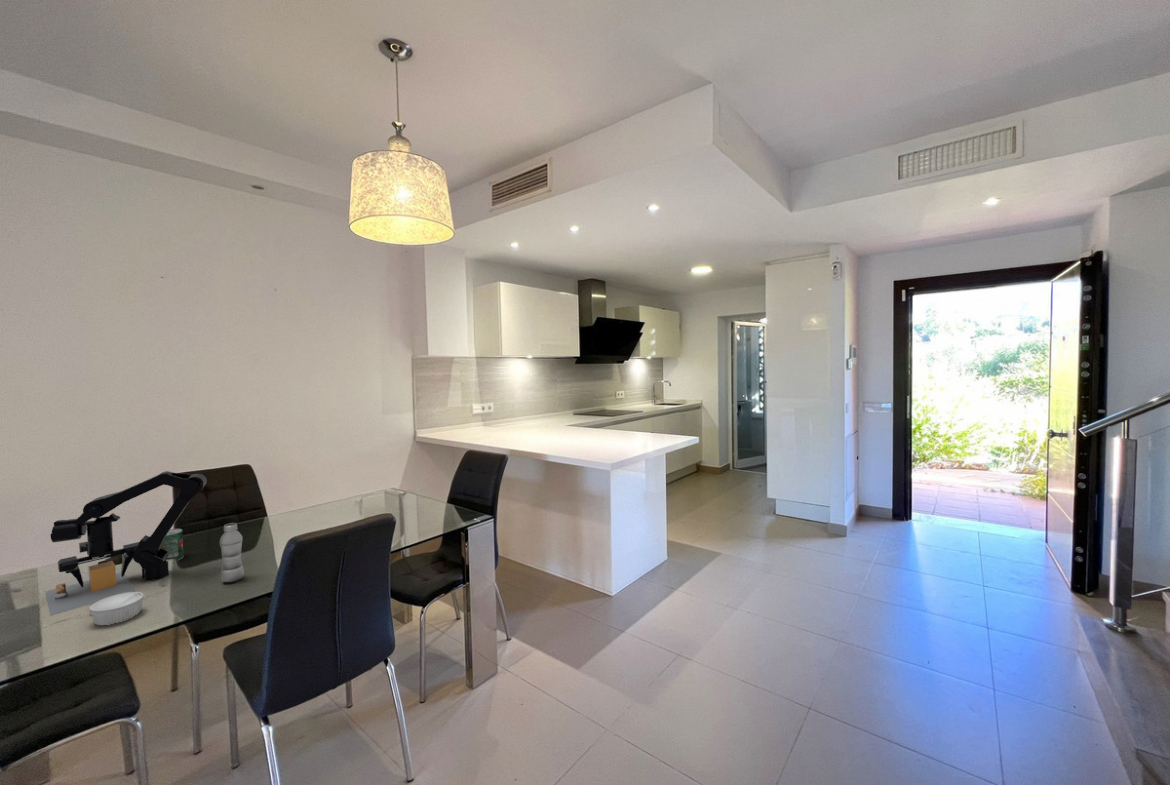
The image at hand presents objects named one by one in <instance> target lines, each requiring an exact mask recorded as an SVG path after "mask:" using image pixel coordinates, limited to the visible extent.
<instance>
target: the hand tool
mask: <svg viewBox="0 0 1170 785" xmlns="http://www.w3.org/2000/svg"><path fill="white" fill-rule="evenodd" d="M139 542H140V541H137V542H136V543H139ZM110 561H113V562H114V564H115V566H117V564H121V563H122V555H117V556H113V557H109V558H105V559H104V560H101V561H98V563H97V564H101V563H106V562H110Z"/></svg>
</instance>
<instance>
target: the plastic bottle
mask: <svg viewBox="0 0 1170 785" xmlns="http://www.w3.org/2000/svg"><path fill="white" fill-rule="evenodd" d="M223 532H224V533H223V534H222V535H221V537H220V539H219V547H220V551H221V556H222V557H221V559H222V560H221V561H222V562H221V563H222V564H221V572H220V580H221V581H222V582H223V583H233V582H237V581H239V580H241V579H243V577H244V575H245V569H244V566H243V560H242V546H243V535H242V533H240V532H239V530H238V524H237V522H230V523H226V524H224V525H223Z"/></svg>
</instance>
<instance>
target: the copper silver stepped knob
mask: <svg viewBox="0 0 1170 785" xmlns="http://www.w3.org/2000/svg"><path fill="white" fill-rule="evenodd" d="M66 586H67V584H66V583H59V584H57V585H56V586H55V589H56V593H55V599H62V598H65V597H67V596H68V590H66Z"/></svg>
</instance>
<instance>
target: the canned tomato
mask: <svg viewBox="0 0 1170 785" xmlns="http://www.w3.org/2000/svg"><path fill="white" fill-rule="evenodd" d="M183 538H184V537H183V529H181V528H171V529H170V530H169V532H168V533H167V535H166V537H165V540H164V543H163V545H162V547H161V548H163V549H165V550H166V551H168V552H169V554H168V557H167V558H166V559H165V560H166V561H167V560H173V559H175V560H176V561H180V560H183V558H185V557H184V546H183V544H184V540H183Z"/></svg>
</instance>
